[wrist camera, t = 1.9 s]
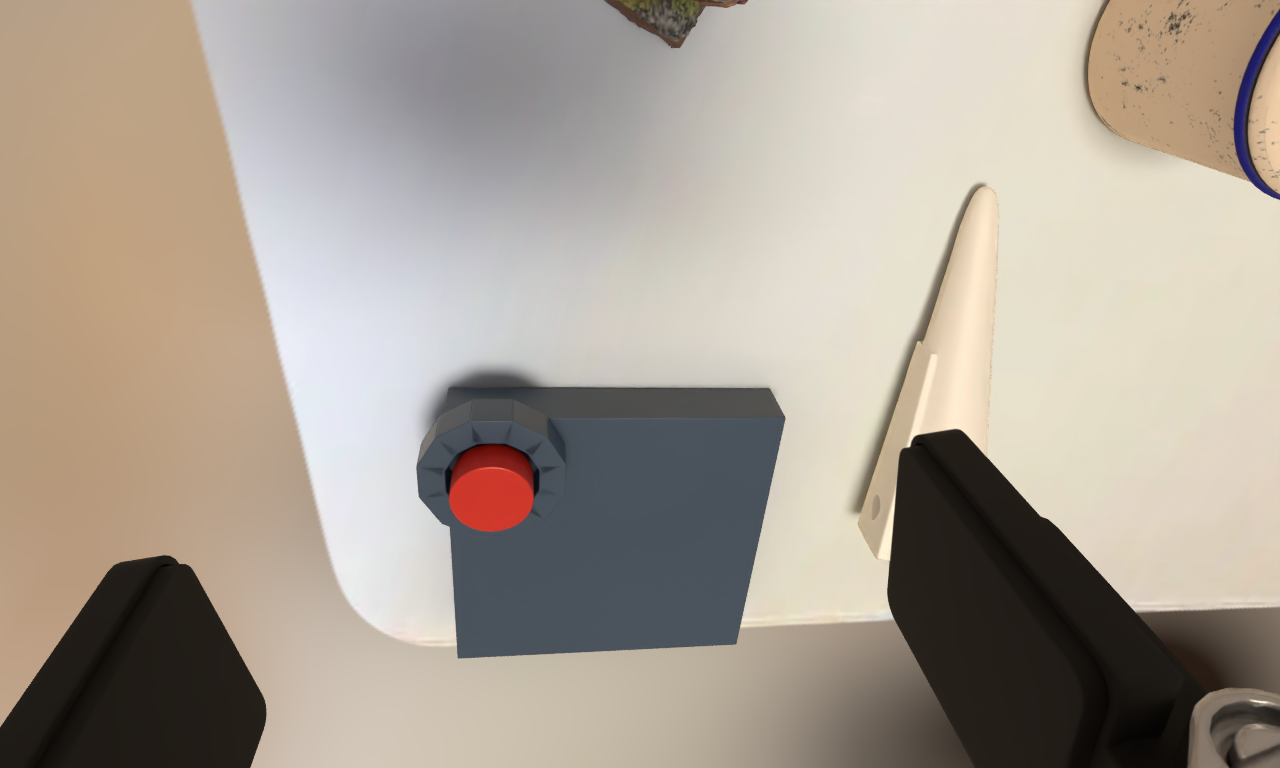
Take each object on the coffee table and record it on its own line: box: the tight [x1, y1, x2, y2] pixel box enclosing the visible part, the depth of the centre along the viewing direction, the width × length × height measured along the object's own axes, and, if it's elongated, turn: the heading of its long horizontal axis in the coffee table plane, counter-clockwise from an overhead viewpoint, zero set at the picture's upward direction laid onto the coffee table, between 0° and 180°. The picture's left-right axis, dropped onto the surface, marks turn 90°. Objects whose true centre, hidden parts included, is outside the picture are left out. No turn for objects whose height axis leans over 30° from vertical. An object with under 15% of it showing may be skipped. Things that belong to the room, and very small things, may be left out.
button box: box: [416, 388, 785, 658], centre depth 39 cm, size 17×17×4 cm
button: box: [449, 444, 534, 532], centre depth 33 cm, size 4×4×2 cm
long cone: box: [858, 186, 999, 562], centre depth 38 cm, size 6×6×19 cm
